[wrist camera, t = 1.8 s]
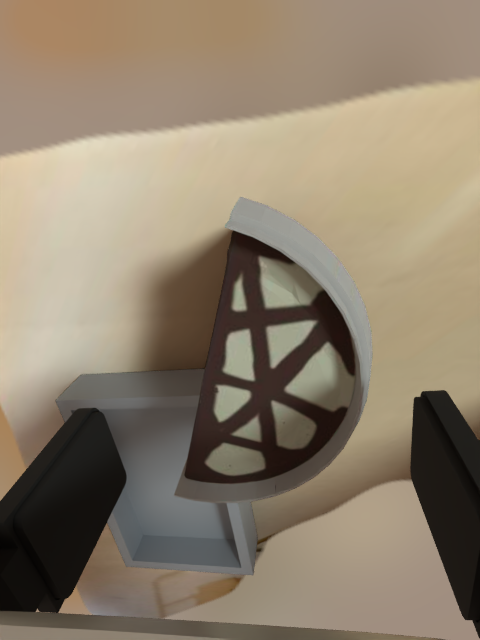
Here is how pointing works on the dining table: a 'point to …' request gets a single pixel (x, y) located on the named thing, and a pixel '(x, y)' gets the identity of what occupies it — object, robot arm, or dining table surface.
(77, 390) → the tray
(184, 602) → the dining table surface
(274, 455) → the food container
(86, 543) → the robot arm
